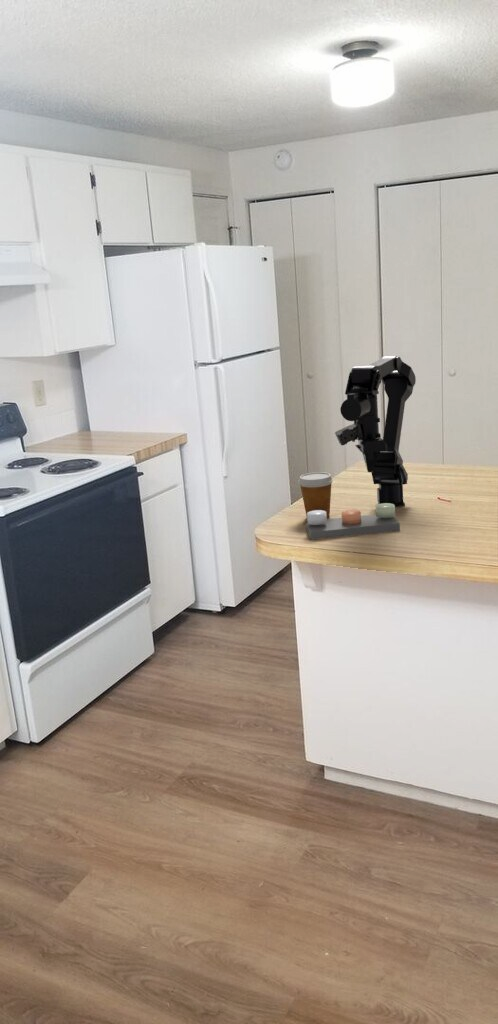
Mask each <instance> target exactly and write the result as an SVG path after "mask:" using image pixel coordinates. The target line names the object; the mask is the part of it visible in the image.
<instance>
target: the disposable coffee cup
mask: <svg viewBox="0 0 498 1024" xmlns="http://www.w3.org/2000/svg"><path fill="white" fill-rule="evenodd" d="M333 481H334V479H333V477H332V474H331V473H329V472H325V471H324V472H323V471H317V472H308V473H303V474H302V475H300V476H299V480H298V481H297V483H298V484H299V486H300V491H301V495H302V500H303V501H302V502H303V506H304V510H305V515H306V517H307V513H308V512H310V511H314V510H323V511H326V515H327V519H330V515H331V514H330V510H331V499H332V498H331V497H332V484H333Z"/></svg>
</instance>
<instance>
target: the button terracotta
mask: <svg viewBox="0 0 498 1024" xmlns="http://www.w3.org/2000/svg"><path fill="white" fill-rule="evenodd" d="M361 516H362V512H361V511H360V510H357V509H348V510H344V511H342V512H341V518H342V523H343V524H347V525H353V524H358V523H360V522H361Z"/></svg>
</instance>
